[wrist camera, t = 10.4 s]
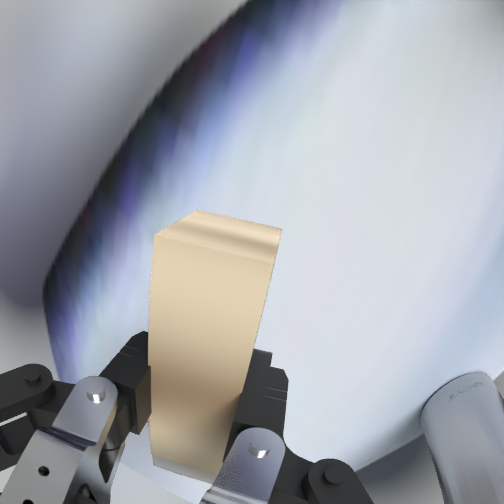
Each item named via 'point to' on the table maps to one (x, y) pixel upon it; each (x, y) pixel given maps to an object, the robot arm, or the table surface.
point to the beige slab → (203, 334)
